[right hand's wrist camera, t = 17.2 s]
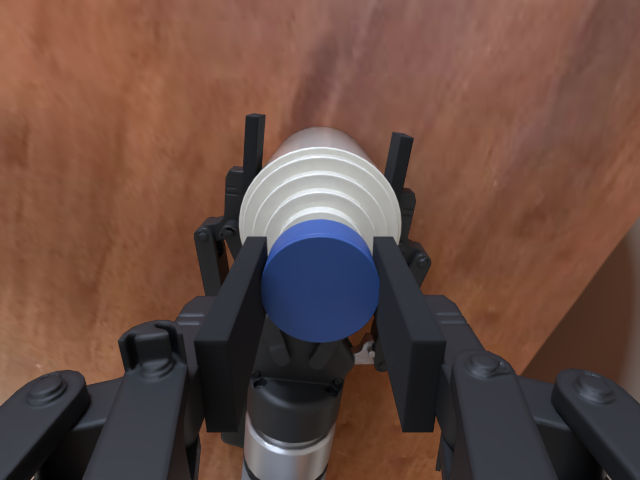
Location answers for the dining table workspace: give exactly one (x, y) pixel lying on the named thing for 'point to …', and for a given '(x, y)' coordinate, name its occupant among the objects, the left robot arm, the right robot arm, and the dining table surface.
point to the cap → (320, 281)
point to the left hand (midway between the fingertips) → (329, 125)
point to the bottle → (320, 189)
